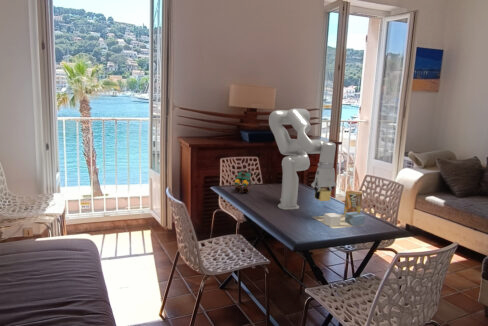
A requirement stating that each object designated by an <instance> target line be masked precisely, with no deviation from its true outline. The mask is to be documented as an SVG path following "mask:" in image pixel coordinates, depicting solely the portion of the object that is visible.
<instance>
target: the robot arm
mask: <svg viewBox="0 0 488 326" xmlns="http://www.w3.org/2000/svg"><path fill="white" fill-rule="evenodd" d="M310 120H311V113H310V111H309V110H307V109H305V108H291V109H289V110H285V109H284V110H283V109H275V110H273V111H271V113H270V114H269V117H268V125H269V128H270V130H271V132H272V134H273V136H274V139H275V142H276V144H277V147H278V150H279V152H280V154H281V155H284V156H285V157H283V158H282V160H281V169H282V170H281V171H282V180H281V182H282V183H281V196H280V198H279V201H280V203H279V204H277V207H278V208H279V209H280V210H284V211H287V210H299V209H300V205H298V204H297V203H298V194H299V192H298V191H299V182H300V181H299V179H300V178H299V175H298V173H297V172H302V171H306V170H308V169H309V168H310V166H311V163H310V162H311V161H310V158H309V155H308V154H310V155H314V154H319V162H318V163H317V169H316V172H315V177H314V180H313V182H312V183H311V185H310V186H311V187H312V189H313V190H314V196H315V198H314V199H316V198H317V199H316V200H318V199H319V196H320V192H319V191H320V189H322V188H326V189H327V190H329V191H331V192H332V191H333V190H334V188H335V186H337V183H336V180H335V179H336V172H335V171H336V170H335V168H334V165H335V157H336V148H337V146H336V143H335V142H331V141H327V140H325V139H310V138H309V137H308V135H307V134H308V133H309V132H310V131H311V128H312V125H311V123H310V122H309V121H310ZM284 125H291V126H292V128H293V129H294V130H295V131H296V133H297V138H291V136H290V134H289V132H288V130H287V129H286V128H285V126H284Z"/></svg>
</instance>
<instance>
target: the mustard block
mask: <svg viewBox="0 0 488 326" xmlns="http://www.w3.org/2000/svg"><path fill="white" fill-rule="evenodd" d="M319 192H320V196H319V199H317V198H315V195H314V197H313V198H314V199H315V200H318V201H320V202H328V201H331V197H332V191H329V190H327V188H320V191H319Z"/></svg>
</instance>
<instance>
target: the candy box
mask: <svg viewBox="0 0 488 326" xmlns="http://www.w3.org/2000/svg"><path fill="white" fill-rule="evenodd" d="M344 198H345V199H344V208H343V215H344V216H345V213H348V212H358V213H360V214H361V210H362V209H361V208H362V200H363V199H362V198H363V191H360V190H352V189H346V191H345V197H344Z"/></svg>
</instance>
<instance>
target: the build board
mask: <svg viewBox="0 0 488 326" xmlns="http://www.w3.org/2000/svg"><path fill="white" fill-rule="evenodd" d="M338 215H339V216H341V219H340V226H328V225H327V224H325V223H323V222H324V215H319V216H312V218H313V219H315V220H316V221H319V222H320V223H322V224H323V225H325V226H327V227H329V228H331V229H342V228H343V229H344V228H351V227H361V226H362V227H363V226H365V220H366V219H365V217H366V216H365V214H362V213H361V212H360V213H358V212H348V213H345V216H344V214H338Z"/></svg>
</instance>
